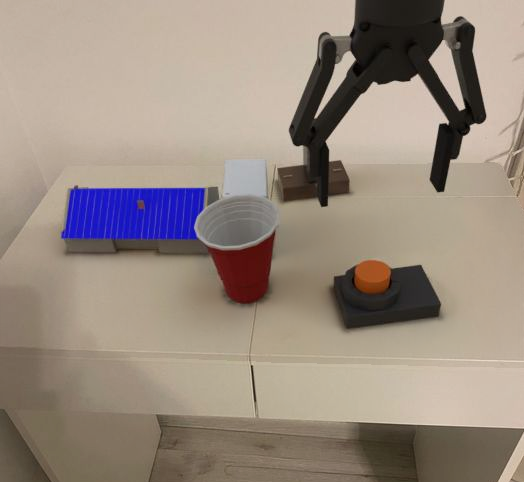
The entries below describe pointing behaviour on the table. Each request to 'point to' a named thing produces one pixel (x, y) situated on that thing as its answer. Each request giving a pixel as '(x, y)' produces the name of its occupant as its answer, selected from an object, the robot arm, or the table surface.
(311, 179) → the dark grey block
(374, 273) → the switch button
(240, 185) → the cosmetics box
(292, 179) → the dial panel
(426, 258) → the table surface
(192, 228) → the roof
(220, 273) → the plastic cup
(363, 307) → the switch button base
